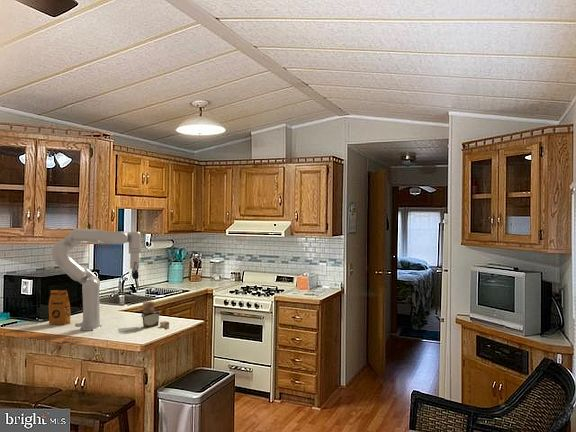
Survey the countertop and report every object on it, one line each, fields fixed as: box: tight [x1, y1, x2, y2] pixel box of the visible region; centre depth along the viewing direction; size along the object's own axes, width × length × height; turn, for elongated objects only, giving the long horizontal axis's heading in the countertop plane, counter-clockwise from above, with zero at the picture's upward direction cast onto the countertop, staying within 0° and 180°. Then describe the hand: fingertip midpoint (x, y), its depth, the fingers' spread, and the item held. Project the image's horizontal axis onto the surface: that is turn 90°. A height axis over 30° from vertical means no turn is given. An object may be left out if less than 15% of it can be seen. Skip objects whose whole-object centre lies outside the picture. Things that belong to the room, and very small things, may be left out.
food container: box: [141, 310, 161, 329], centre depth 294 cm, size 12×6×10 cm, turn 141°
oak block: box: [159, 320, 170, 330], centre depth 293 cm, size 4×4×4 cm
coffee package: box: [48, 289, 71, 326], centre depth 308 cm, size 10×12×22 cm
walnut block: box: [142, 300, 155, 313], centre depth 294 cm, size 6×6×6 cm
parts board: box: [117, 326, 141, 333], centre depth 286 cm, size 12×10×1 cm
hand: (135, 277), depth 302 cm, fingers open, 9 cm apart
